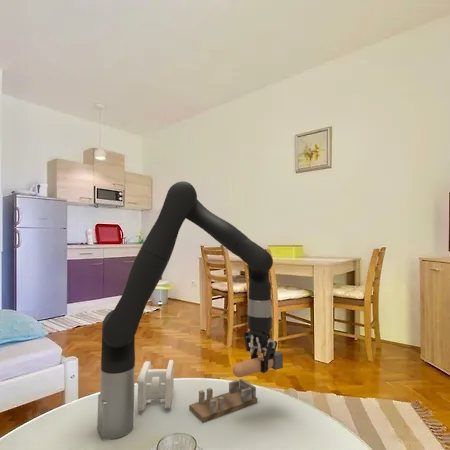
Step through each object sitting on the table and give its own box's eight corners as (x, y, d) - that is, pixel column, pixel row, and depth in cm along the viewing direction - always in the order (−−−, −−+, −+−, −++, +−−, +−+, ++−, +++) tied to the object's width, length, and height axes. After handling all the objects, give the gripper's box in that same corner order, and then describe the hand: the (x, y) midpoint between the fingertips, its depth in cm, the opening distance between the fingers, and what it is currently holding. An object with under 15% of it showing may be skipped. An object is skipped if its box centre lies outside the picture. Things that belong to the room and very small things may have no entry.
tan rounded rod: (238, 381, 89) (238, 365, 89) (229, 375, 92) (229, 360, 93) (282, 367, 98) (282, 353, 99) (273, 363, 102) (273, 349, 102)
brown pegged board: (202, 422, 91) (202, 405, 91) (189, 409, 98) (189, 393, 99) (257, 402, 103) (257, 387, 103) (241, 392, 110) (241, 377, 110)
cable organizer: (170, 414, 96) (171, 375, 96) (135, 415, 95) (136, 376, 95) (173, 391, 111) (174, 357, 111) (143, 392, 110) (144, 358, 110)
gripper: (236, 310, 101) (236, 364, 100) (265, 319, 89) (265, 381, 88) (254, 308, 105) (254, 359, 104) (284, 316, 93) (284, 375, 92)
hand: (259, 369), depth 96 cm, fingers closed on tan rounded rod, 4 cm apart
